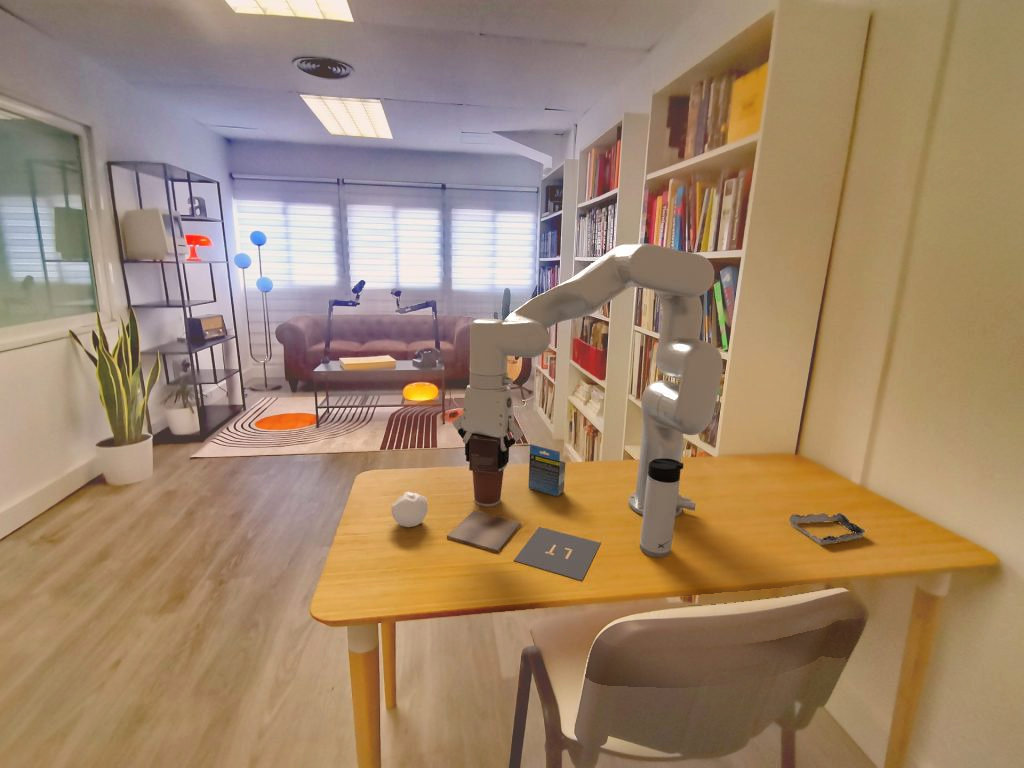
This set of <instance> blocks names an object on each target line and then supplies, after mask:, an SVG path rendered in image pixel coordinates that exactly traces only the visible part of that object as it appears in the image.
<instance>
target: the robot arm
mask: <svg viewBox="0 0 1024 768" xmlns="http://www.w3.org/2000/svg"><path fill="white" fill-rule="evenodd" d="M714 280H715V269H714V266H713V264H712V262H711V261H710V260H709V259H708V258H707V257H706V256H704V255H701V254H698V253H694V252H688V251H683V250H679V249H675V248H670V247H666V246H661V245H658V244H652V243H647V242H646V243H644V242H643V243H623V244H620V245H617V246H615V247H613V248H612V249H611V250H609V251H608V252H606V253H605V254H603V255H602V256H601V257H599V258H598V259H596V260H595V261H594V262H592V263H590V265H588V266H587V267H585V268H584V269H582V270H581V271H579V272H578V273H577V274H576V275H574V276H572V277H571V278H569V279H568V280H566V281H564V282H562V283H559V284H558V285H556V286H554V287H552V288H550V289H549V290H546V291H544V292H542V293H541V294H538V295H537V296H534V297H533V298H531V299H530V300H528V301H527V302H525V303H524V304H522V305H521V306H520V307H518V308H517V309H515V310H513V312H511V313H510V314H509V315H508V316H506V317H505V318H504V320H503V319H498V318H479V319H478V318H477V319H474V320H473V321H472V322H471V323H470V328H469V329H470V330H469V384H468V385H467V386H466V390H465V393H464V397H463V404H462V405H463V406H462V414H461V415H459V416H458V417H457V418H456V419H454V420H453V421H452V425H453V427H454V428H455V430H456V431H457V433H458V434H457V435H459V436H460V437H461V439H462V443H464V455H465V461H466V462H468V463H469V444H470V437H471V436H472V435H473V433H474V434H479V435H484V436H489V437H495V438H497V439H499V445H500V448H501V449H500V450H499V451H498V468H499V469H502V468H503V467H504V466H505V465H506V464H507V465H508V464H509V461H510V459H509V458H510V448H511V447H512V446H513V445H514V444H515V443H517V442H518V441H519V440H520V439H521V438H522V437H523V436H524V431H523V430H522V429H521V428H520V427H519V426H518V425H517V423H516V422H515V420H514V419H515V415H514V414H515V413H514V401H513V395H512V389H511V387H509V386H511V385H513V383H514V382H513V381H514V379H513V378H511V377H509V372H508V357H517V358H525V359H530V358H537V357H539V356H542V355H543V354H544V353H545V352H546V351H547V350H548V348H549V346H550V344H551V335H550V332H549V330H548V329H549V328H550V327H552V326H554V325H556V324H559V323H562V322H564V321H569V320H572V319H573V320H575V319H581V318H584V317H587V316H591V315H592V314H594V313H596V312H597V311H598V310H600V309H601V308H603V307H604V306H605V305H606V304H608V303H609V302H611V301H613V300H614V299H615V298H616V297H618V296H619V295H620V294H622V293H624V292H625V291H626V290H628V289H629V288H633V287H634V288H639V289H640V288H641V289H642V288H643V289H646V290H652V291H653V292H654V293H655V295H656V296H657V298H658V299H659V302H660V304H661V308H662V318H661V326H660V330H659V331H660V332H659V336H658V341H657V346H656V352H655V366H656V368H657V369H658V371H660V372H661V373H662V374H664V375H666V376H668V377H671V378H672V379H673V378H674V379H676V380H678V381H679V384H678V383H677V382H675V381H669V380H665V379H661V380H655V381H653V382H651V383H650V384H649V385H647V387H646V388H645V389H644V391H643V393H642V395H641V400H640V401H641V402H640V403H641V405H640V408H641V418H642V421H641V422H642V428H641V430H642V431H641V441H640V453H639V461H638V471H637V481H636V488H635V492H633V493H631V494H630V495H629V498H628V506H629V507H630V508H631V509H632V510H633V511H634V512H636V513H638V514H640V515H641V516H643V511H644V502H645V492H646V483H647V477H648V476H647V474H648V468H649V463H650V462H652V460H654V459H660V458H667V459H673V460H677V461H679V462H680V463H682V455H683V450H684V449H683V448H684V435H687V436H695V435H699V434H701V433H702V432H704V431H705V430H706V429H707V428H708V426H709V425H710V422H711V421H712V418H713V416H714V412H715V408H716V404H717V399H718V395H719V391H720V390H719V389H720V387H721V386H720V385H721V381H722V376H723V370H724V360H723V357H722V354H721V352H720V350H719V349H718V348H717V347H716V346H715V345H714V344H712V343H710V342H708V341H704V340H701V339H700V338H701V330H702V323H703V313H704V312H703V305H702V300H701V297H700V296H702V295H704V294H705V293H708V291H709V290H710V289H711V287H712V285H713V283H714ZM509 433H512V434H513V436H512V437H511V438H510V437H509V435H508V434H509ZM696 506H697V502H694V501H692V498H690V497H687V496H686V497H685V496H682V495H681V494H680V489H679V490H678V498H677V506H676V514H675V518H676V517H679V515H681V514H682V509H686V510H688V511H689V510H690V511H694V512H695V511H696Z"/></svg>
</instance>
